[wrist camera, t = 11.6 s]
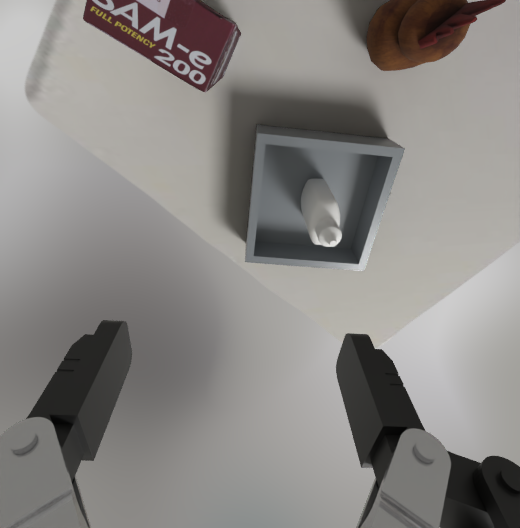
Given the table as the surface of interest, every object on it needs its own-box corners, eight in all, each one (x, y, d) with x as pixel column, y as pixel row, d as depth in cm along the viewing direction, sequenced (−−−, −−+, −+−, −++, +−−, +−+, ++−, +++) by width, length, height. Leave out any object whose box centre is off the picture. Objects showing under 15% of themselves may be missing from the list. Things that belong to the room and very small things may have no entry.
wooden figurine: (424, -12, 32) (539, -56, 19) (424, 56, 35) (522, 57, 22) (355, 10, 32) (420, -18, 20) (360, 75, 35) (420, 86, 23)
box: (256, 124, 38) (257, 133, 34) (388, 138, 39) (404, 148, 35) (245, 243, 47) (245, 262, 42) (354, 252, 48) (364, 271, 43)
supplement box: (147, 33, 33) (76, 19, 20) (164, -21, 31) (96, -79, 17) (223, 81, 36) (206, 96, 22) (244, 34, 33) (239, 19, 20)
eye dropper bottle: (340, 188, 41) (368, 231, 31) (315, 223, 44) (333, 273, 34) (312, 171, 40) (332, 210, 30) (287, 208, 43) (298, 256, 33)
